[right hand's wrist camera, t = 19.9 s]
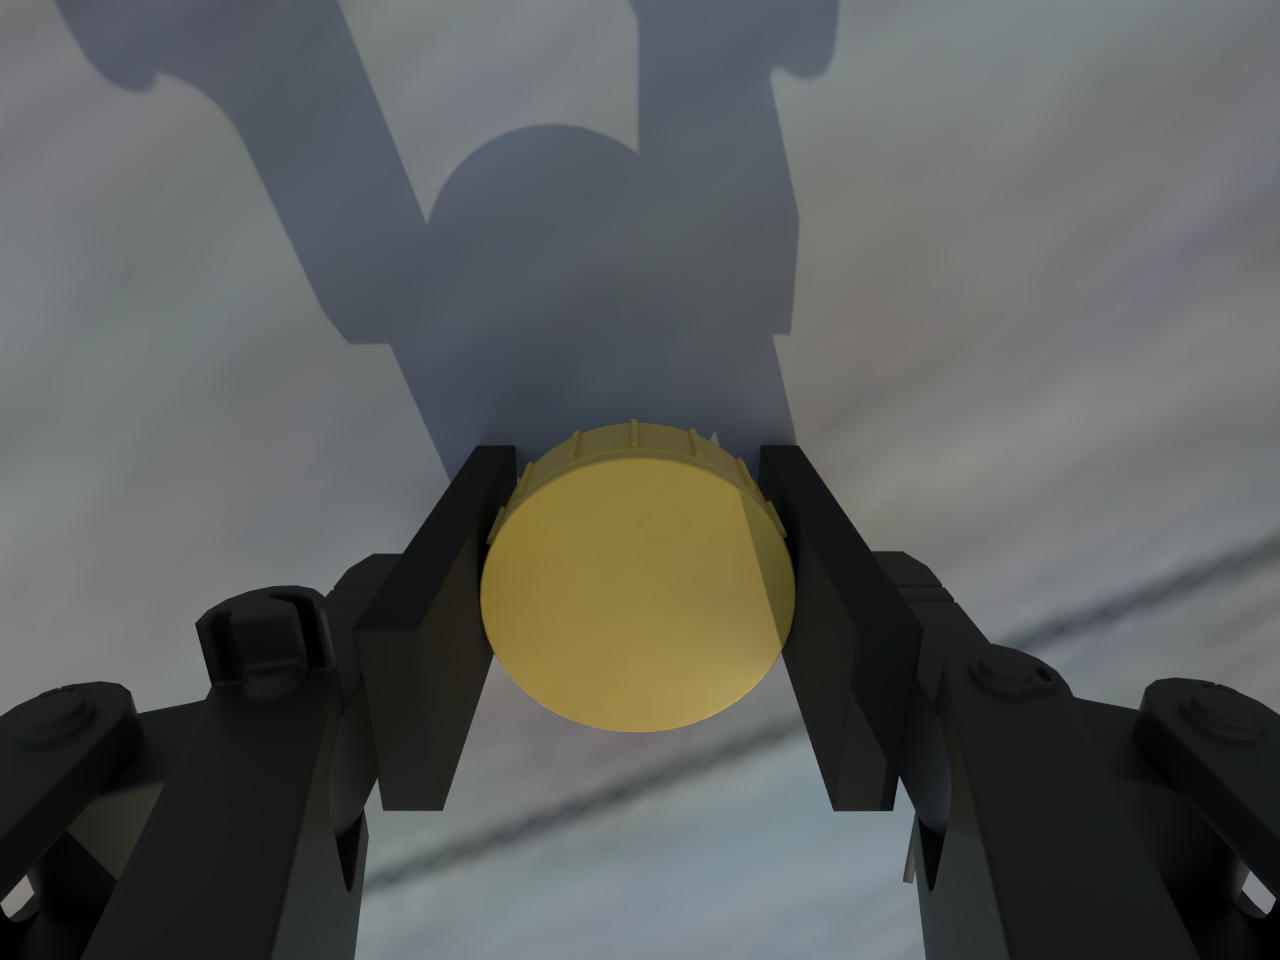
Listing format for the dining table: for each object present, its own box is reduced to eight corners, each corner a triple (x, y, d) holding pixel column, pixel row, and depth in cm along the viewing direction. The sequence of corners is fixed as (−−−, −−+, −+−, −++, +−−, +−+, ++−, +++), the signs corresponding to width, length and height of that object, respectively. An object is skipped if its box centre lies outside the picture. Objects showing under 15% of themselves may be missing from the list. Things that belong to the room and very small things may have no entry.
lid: (483, 649, 13) (462, 713, 12) (513, 395, 12) (494, 427, 10) (740, 685, 14) (756, 753, 12) (807, 445, 12) (838, 485, 10)
